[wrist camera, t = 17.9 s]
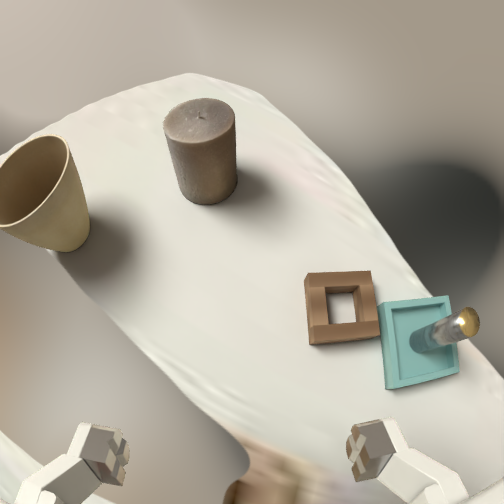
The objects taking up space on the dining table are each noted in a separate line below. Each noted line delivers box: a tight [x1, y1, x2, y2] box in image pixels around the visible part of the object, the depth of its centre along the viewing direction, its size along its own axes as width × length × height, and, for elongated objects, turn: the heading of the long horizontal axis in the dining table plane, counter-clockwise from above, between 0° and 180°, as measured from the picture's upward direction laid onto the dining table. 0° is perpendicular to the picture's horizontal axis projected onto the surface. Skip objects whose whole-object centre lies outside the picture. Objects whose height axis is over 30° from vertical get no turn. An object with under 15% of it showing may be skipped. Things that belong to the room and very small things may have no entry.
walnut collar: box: [304, 271, 380, 345], centre depth 39 cm, size 9×9×3 cm
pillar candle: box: [163, 98, 237, 205], centre depth 42 cm, size 10×10×15 cm
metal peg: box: [409, 307, 480, 353], centre depth 32 cm, size 4×4×12 cm
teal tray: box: [377, 296, 460, 389], centre depth 37 cm, size 12×12×2 cm
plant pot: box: [0, 134, 90, 252], centre depth 37 cm, size 15×15×16 cm
